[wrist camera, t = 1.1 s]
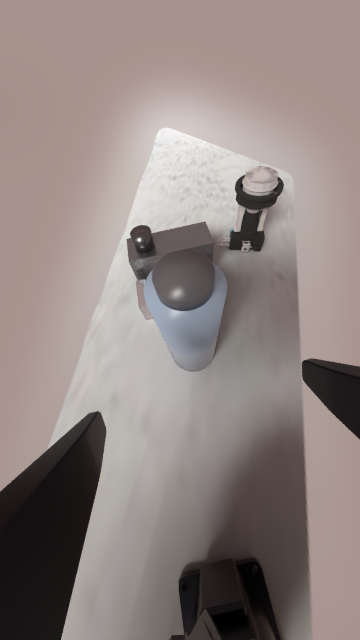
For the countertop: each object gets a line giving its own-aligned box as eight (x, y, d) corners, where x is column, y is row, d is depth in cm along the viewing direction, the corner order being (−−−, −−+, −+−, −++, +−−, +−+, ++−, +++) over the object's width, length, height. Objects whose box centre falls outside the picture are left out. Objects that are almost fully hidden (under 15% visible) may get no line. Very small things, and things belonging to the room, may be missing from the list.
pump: (219, 366, 22) (243, 300, 10) (175, 375, 22) (142, 323, 10) (208, 326, 25) (215, 232, 12) (168, 335, 25) (134, 250, 12)
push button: (218, 258, 30) (225, 191, 21) (218, 234, 32) (224, 164, 23) (263, 258, 29) (291, 187, 20) (259, 233, 31) (283, 160, 22)
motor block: (221, 303, 26) (228, 261, 19) (146, 320, 26) (125, 283, 19) (204, 256, 30) (205, 206, 23) (140, 270, 30) (121, 225, 23)
